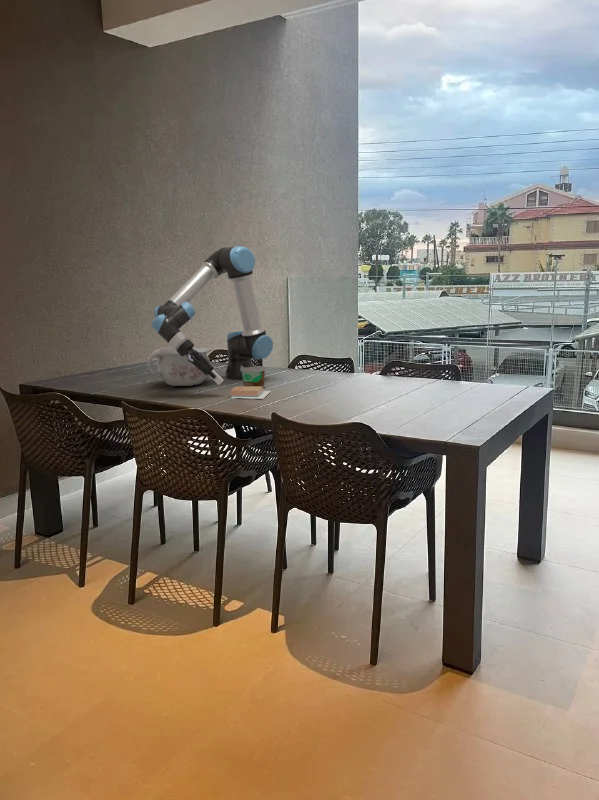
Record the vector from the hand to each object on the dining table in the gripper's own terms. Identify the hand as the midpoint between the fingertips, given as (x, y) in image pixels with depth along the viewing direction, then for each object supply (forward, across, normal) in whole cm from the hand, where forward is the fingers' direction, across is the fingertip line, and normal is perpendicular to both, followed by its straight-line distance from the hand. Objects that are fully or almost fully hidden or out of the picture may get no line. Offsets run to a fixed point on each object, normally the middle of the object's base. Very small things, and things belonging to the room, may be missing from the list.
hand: (221, 382), depth 278 cm
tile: (+6, 0, +1) cm, 6 cm away
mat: (+13, 0, +5) cm, 14 cm away
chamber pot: (-14, -26, -22) cm, 37 cm away
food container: (+11, -17, +3) cm, 20 cm away
